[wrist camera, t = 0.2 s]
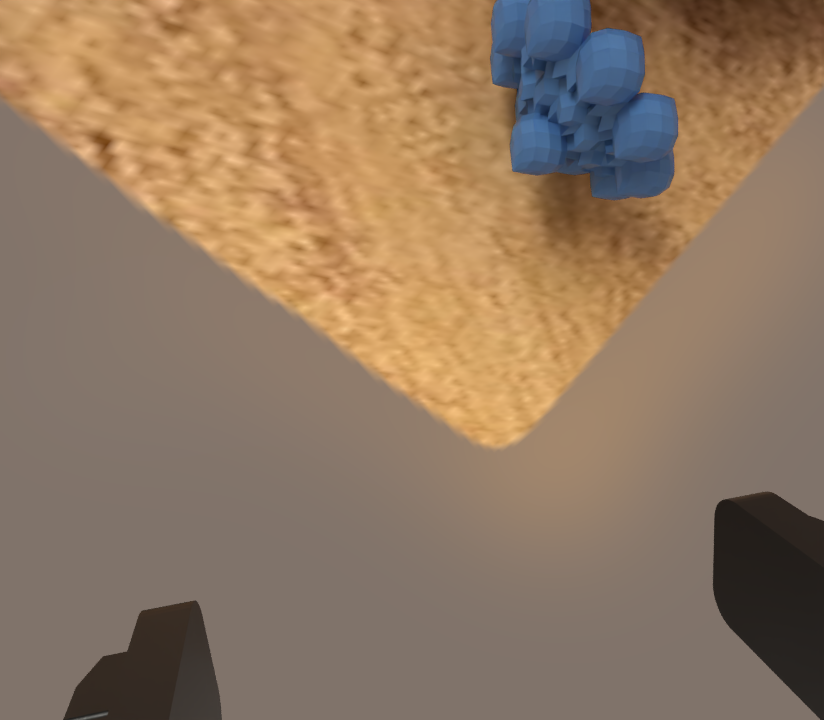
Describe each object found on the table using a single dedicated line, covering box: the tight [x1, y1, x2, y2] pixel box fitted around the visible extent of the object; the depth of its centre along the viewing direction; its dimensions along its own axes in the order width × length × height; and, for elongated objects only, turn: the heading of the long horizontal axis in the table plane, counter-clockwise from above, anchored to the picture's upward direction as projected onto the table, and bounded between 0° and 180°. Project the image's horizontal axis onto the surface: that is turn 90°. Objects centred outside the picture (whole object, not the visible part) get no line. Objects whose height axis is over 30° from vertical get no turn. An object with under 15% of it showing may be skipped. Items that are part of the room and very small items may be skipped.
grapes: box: [490, 0, 678, 200], centre depth 32 cm, size 12×7×12 cm, turn 44°
